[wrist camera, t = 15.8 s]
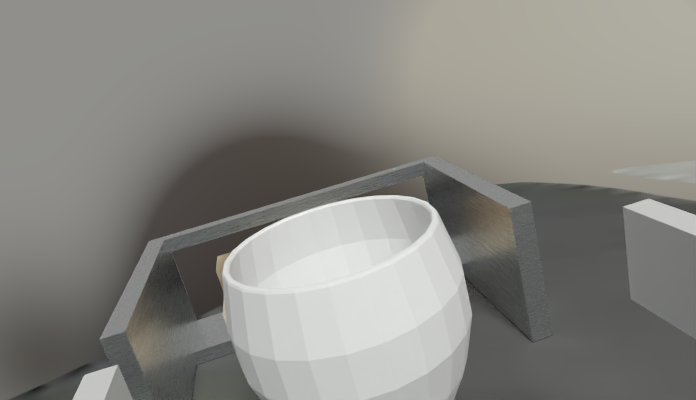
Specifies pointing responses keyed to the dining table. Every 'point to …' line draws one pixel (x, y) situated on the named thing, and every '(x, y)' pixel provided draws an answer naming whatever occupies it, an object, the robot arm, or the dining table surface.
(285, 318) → the cup
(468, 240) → the grey open storage bin
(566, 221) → the dining table surface
